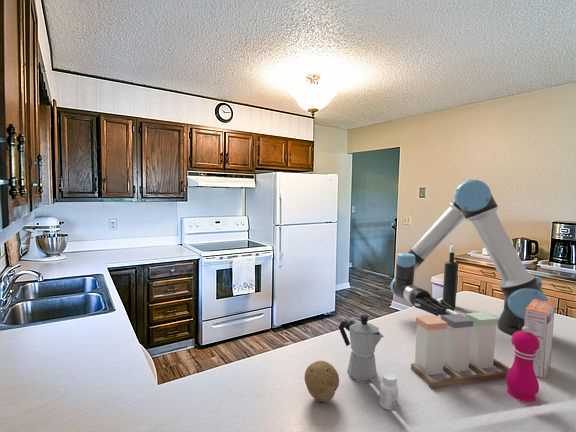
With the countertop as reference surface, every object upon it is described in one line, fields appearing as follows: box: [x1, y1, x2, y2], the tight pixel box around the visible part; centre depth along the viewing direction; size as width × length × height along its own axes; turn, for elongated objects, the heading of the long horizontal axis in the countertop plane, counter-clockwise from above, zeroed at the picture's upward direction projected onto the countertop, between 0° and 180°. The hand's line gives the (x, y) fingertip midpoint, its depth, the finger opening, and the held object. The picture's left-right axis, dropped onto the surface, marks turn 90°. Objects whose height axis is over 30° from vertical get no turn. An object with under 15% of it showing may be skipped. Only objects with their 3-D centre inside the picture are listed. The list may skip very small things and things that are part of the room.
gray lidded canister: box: [440, 313, 473, 373], centre depth 100 cm, size 6×7×16 cm
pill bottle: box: [379, 372, 399, 411], centre depth 83 cm, size 4×4×8 cm
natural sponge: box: [304, 360, 340, 403], centre depth 85 cm, size 9×9×10 cm
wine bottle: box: [442, 244, 459, 309], centre depth 159 cm, size 6×6×30 cm
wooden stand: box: [410, 358, 511, 390], centre depth 98 cm, size 13×31×3 cm, turn 103°
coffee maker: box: [338, 314, 385, 383], centre depth 97 cm, size 15×9×18 cm, turn 47°
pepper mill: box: [505, 326, 540, 403], centre depth 87 cm, size 7×7×20 cm
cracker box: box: [524, 299, 556, 379], centre depth 102 cm, size 14×6×21 cm, turn 134°
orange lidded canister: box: [414, 315, 448, 376], centre depth 98 cm, size 6×7×16 cm
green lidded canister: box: [465, 311, 499, 370], centre depth 102 cm, size 6×7×16 cm
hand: (460, 320), depth 109 cm, fingers closed
